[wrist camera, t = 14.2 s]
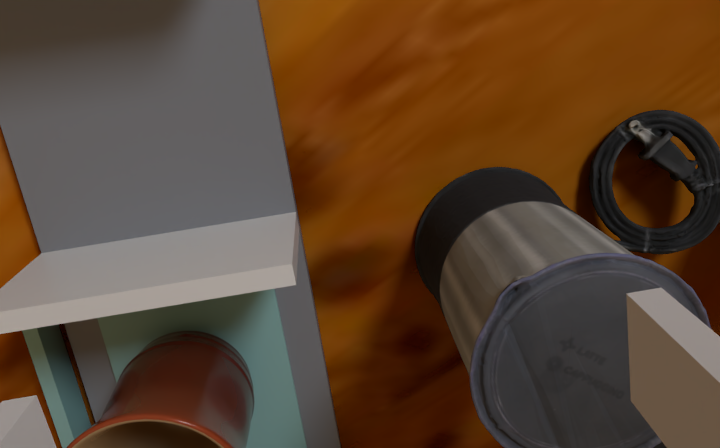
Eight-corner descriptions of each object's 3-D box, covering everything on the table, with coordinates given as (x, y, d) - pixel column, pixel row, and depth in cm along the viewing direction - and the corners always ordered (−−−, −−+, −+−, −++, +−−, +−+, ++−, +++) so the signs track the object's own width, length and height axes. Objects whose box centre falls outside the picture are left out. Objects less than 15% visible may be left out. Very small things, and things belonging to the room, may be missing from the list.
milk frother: (383, 275, 38) (425, 424, 24) (520, 26, 34) (665, 30, 20) (581, 365, 41) (723, 546, 27) (727, 144, 37) (981, 219, 23)
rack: (238, -105, 32) (211, -152, 23) (343, 457, 42) (351, 570, 33) (-83, -57, 31) (-232, -86, 23) (101, 499, 41) (46, 624, 33)
